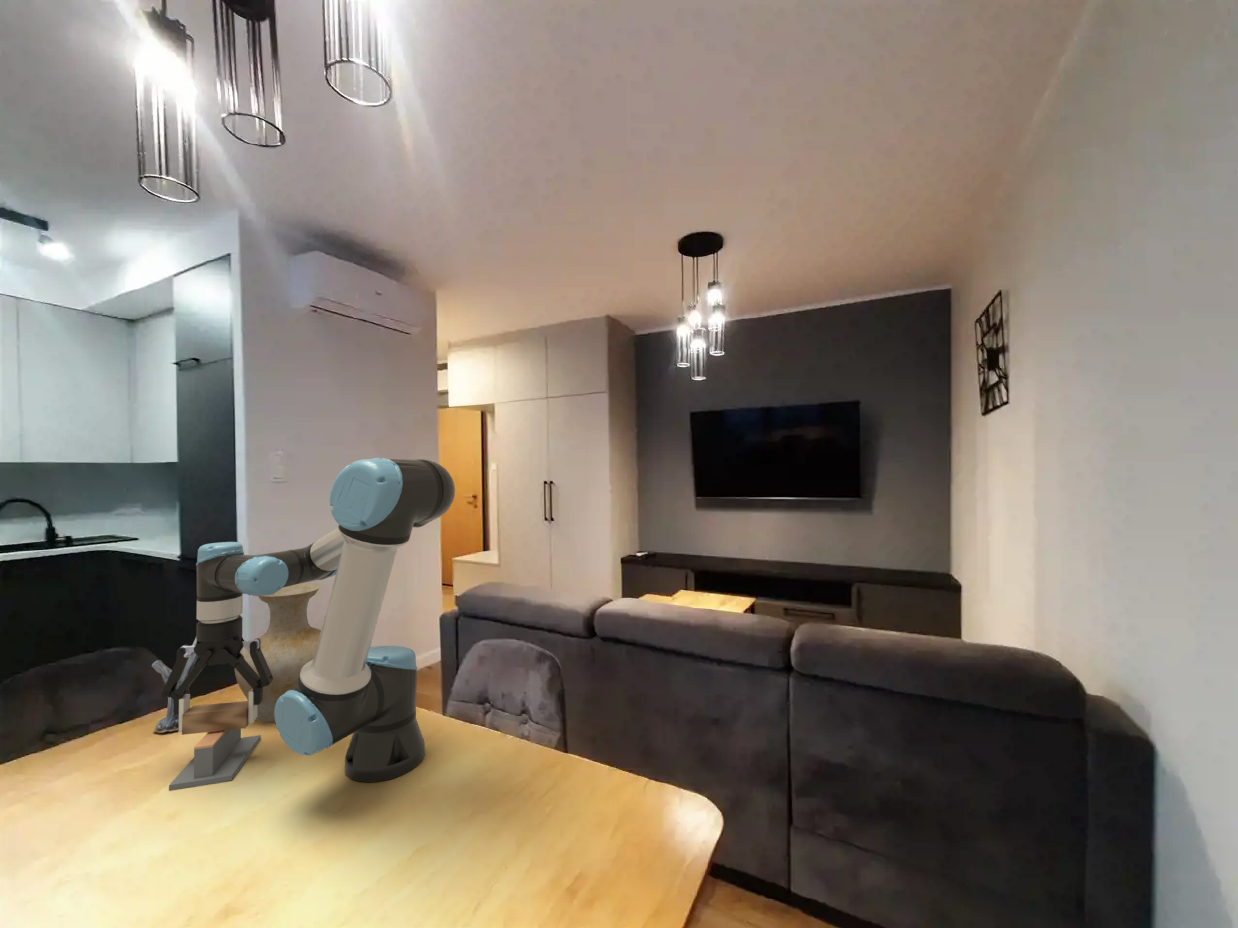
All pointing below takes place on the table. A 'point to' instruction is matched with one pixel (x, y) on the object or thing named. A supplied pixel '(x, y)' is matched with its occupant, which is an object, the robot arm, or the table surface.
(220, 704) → the walnut bar
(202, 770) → the ridge block
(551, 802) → the table surface
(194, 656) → the antler
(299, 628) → the vase
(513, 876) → the table surface
